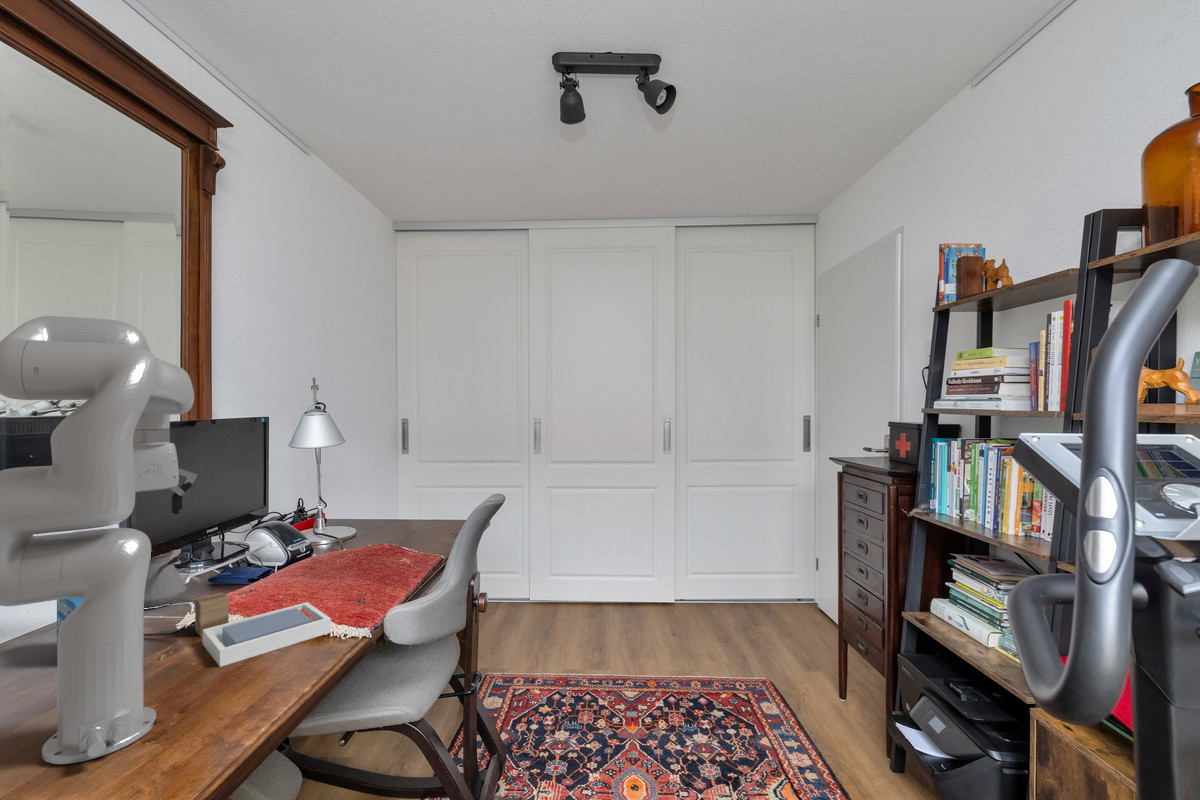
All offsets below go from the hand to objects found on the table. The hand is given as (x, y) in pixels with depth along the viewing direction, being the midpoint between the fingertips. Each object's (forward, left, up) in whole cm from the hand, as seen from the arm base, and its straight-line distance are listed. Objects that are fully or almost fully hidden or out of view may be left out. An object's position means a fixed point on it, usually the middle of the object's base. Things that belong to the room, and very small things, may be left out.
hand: (147, 516), depth 113 cm
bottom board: (-21, -17, -25) cm, 37 cm away
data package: (+2, +10, -27) cm, 29 cm away
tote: (-21, -17, -26) cm, 38 cm away
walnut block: (-7, -10, -26) cm, 29 cm away
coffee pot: (+20, -6, -27) cm, 34 cm away
